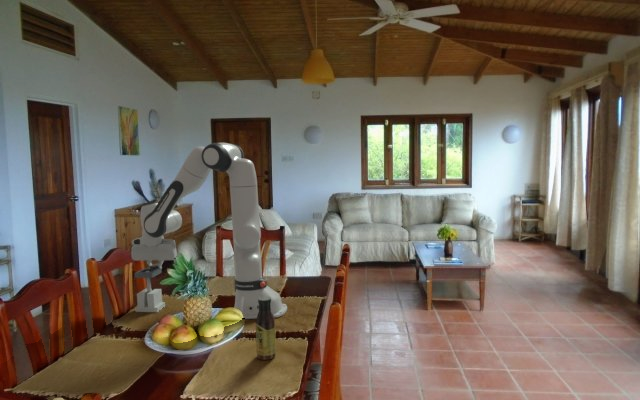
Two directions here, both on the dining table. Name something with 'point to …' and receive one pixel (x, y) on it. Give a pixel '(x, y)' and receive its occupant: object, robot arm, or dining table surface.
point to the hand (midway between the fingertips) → (155, 269)
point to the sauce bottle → (265, 330)
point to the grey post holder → (149, 299)
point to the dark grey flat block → (151, 274)
